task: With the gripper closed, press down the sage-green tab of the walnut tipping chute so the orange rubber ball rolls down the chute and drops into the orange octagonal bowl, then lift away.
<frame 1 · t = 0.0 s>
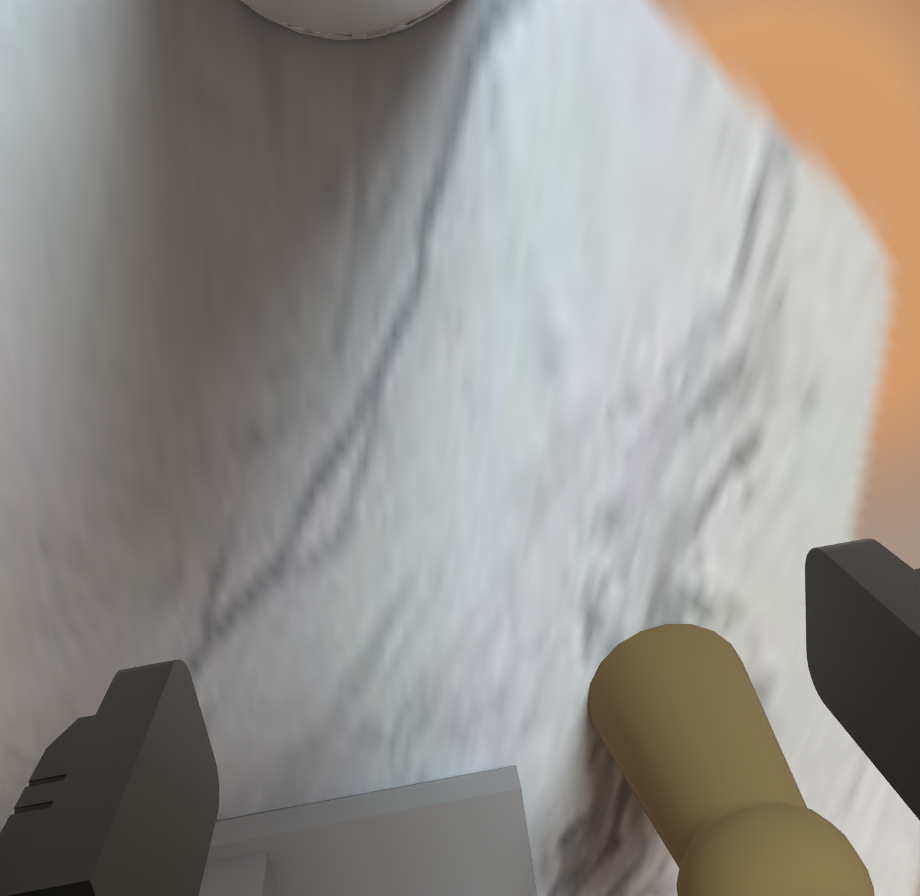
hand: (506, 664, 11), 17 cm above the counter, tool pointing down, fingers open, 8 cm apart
olive green pawn: (665, 690, 33), on the counter
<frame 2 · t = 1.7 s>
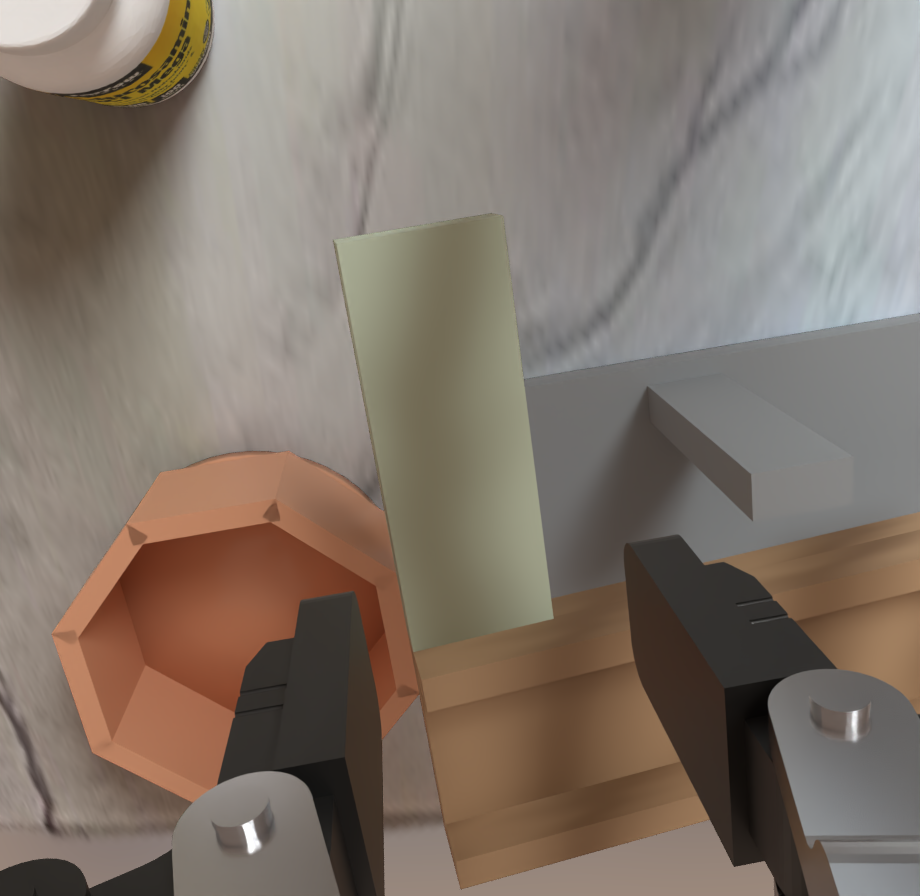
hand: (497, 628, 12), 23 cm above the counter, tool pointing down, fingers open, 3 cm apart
chute stand: (684, 512, 38), on the counter
orange octagonal bowl: (261, 586, 37), on the counter
pill bottle: (127, 12, 30), on the counter
chute: (798, 483, 26), point 11 cm above the counter, hinge at -6.1°, touching ball
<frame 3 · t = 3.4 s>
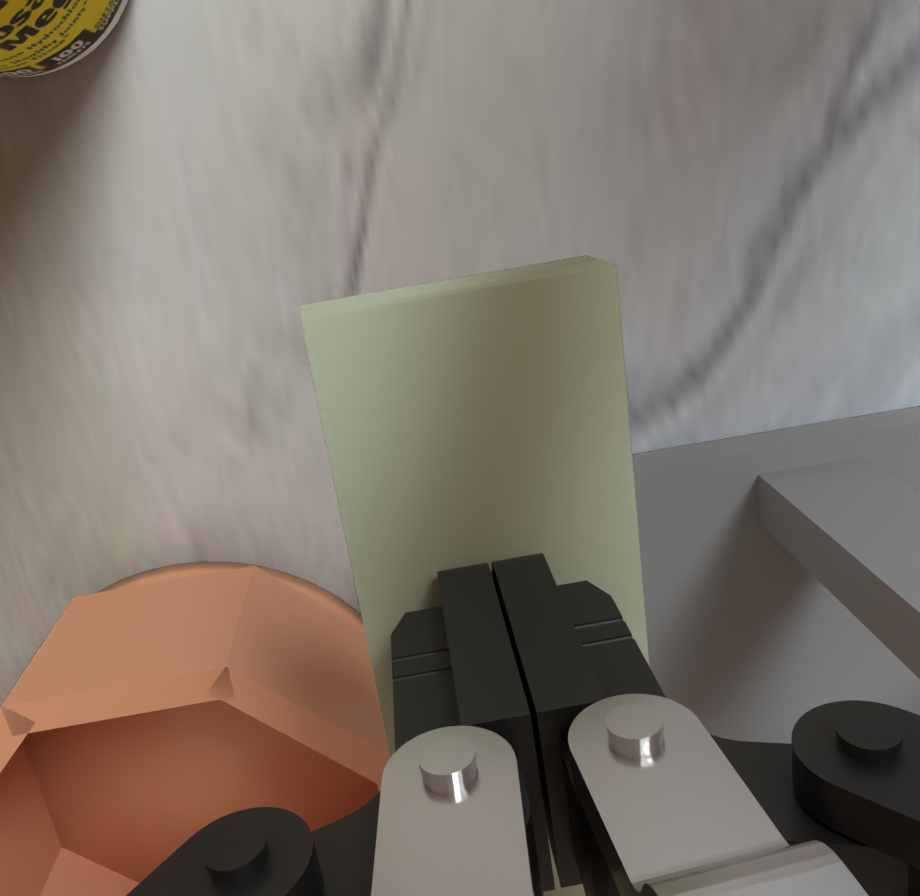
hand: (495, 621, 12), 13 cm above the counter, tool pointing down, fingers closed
chute stand: (794, 635, 28), on the counter
orange octagonal bowl: (221, 737, 27), on the counter
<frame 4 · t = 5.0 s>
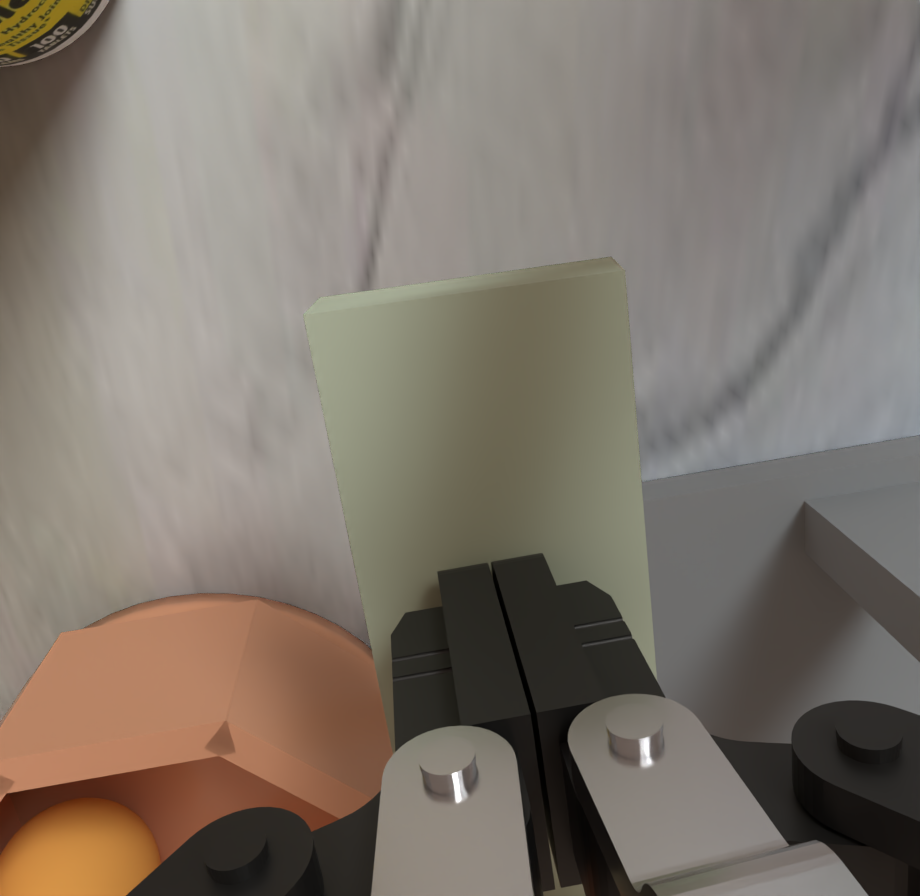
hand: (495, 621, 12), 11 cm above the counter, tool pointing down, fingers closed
chute stand: (837, 670, 26), on the counter
orange octagonal bowl: (221, 779, 25), on the counter
ball: (77, 882, 22), point 3 cm above the counter, tilted 148°, touching orange octagonal bowl
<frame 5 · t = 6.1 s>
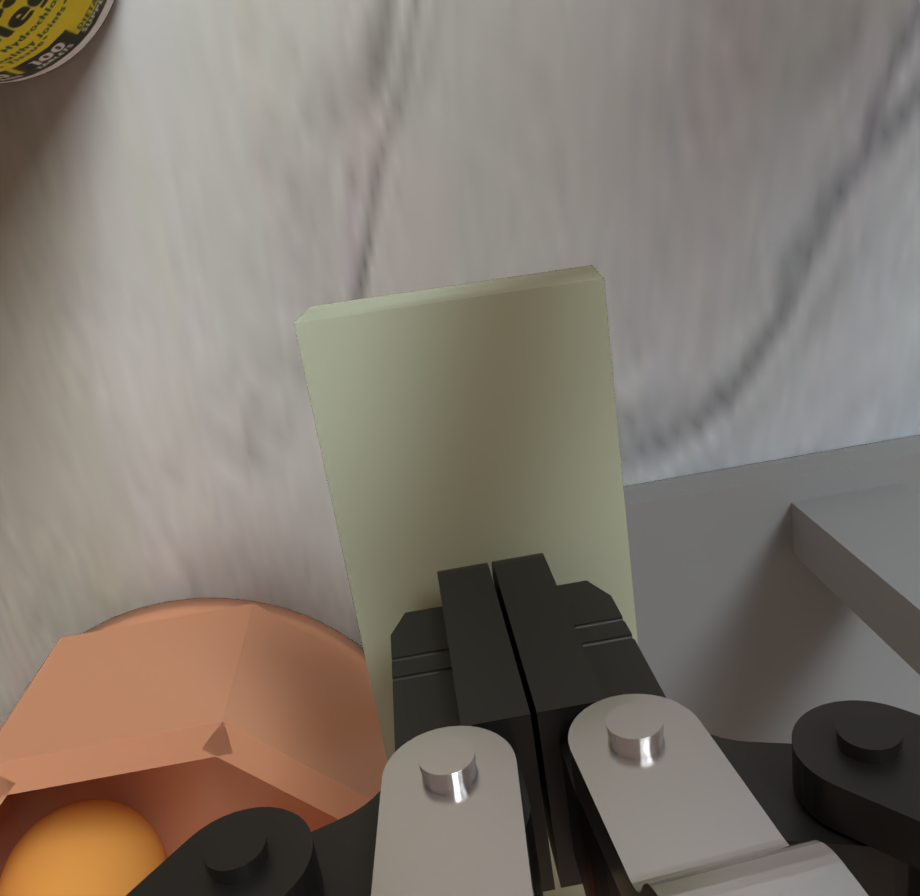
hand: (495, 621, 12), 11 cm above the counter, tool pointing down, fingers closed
chute stand: (827, 670, 26), on the counter
orange octagonal bowl: (219, 782, 26), on the counter
ball: (85, 883, 23), point 3 cm above the counter, tilted 143°, touching orange octagonal bowl
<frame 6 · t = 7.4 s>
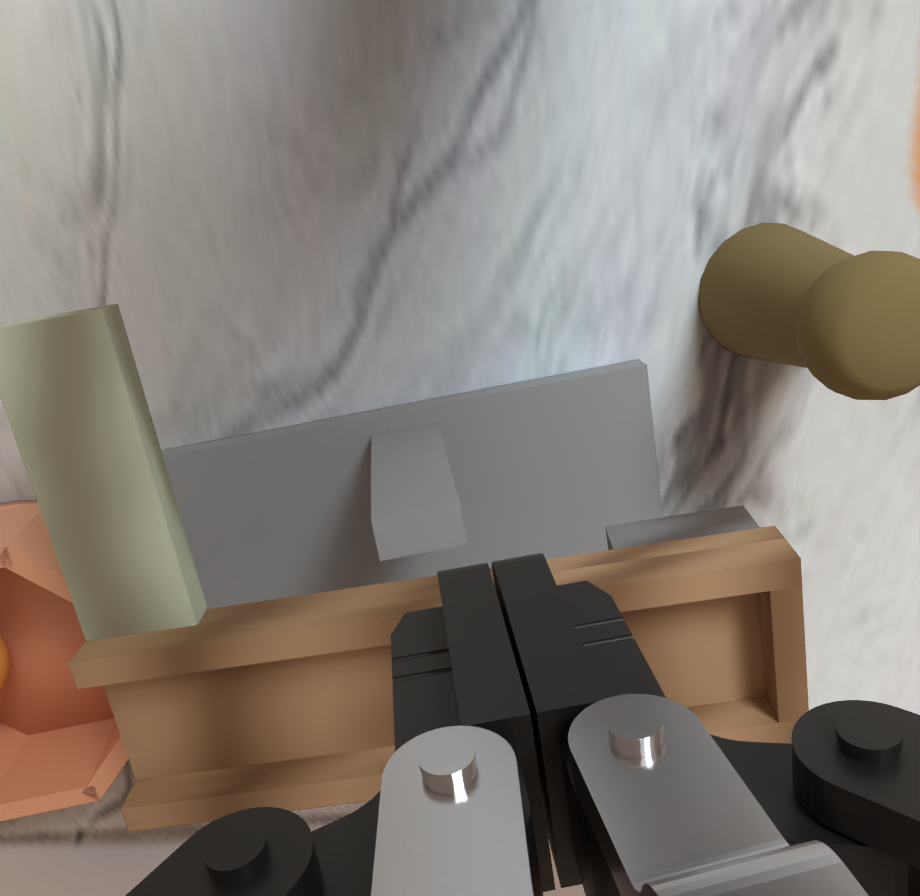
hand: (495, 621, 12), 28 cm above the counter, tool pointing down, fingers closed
chute stand: (428, 544, 42), on the counter
orange octagonal bowl: (46, 620, 41), on the counter
olive green pawn: (761, 291, 40), on the counter
chute: (416, 527, 30), point 11 cm above the counter, hinge at 6.5°
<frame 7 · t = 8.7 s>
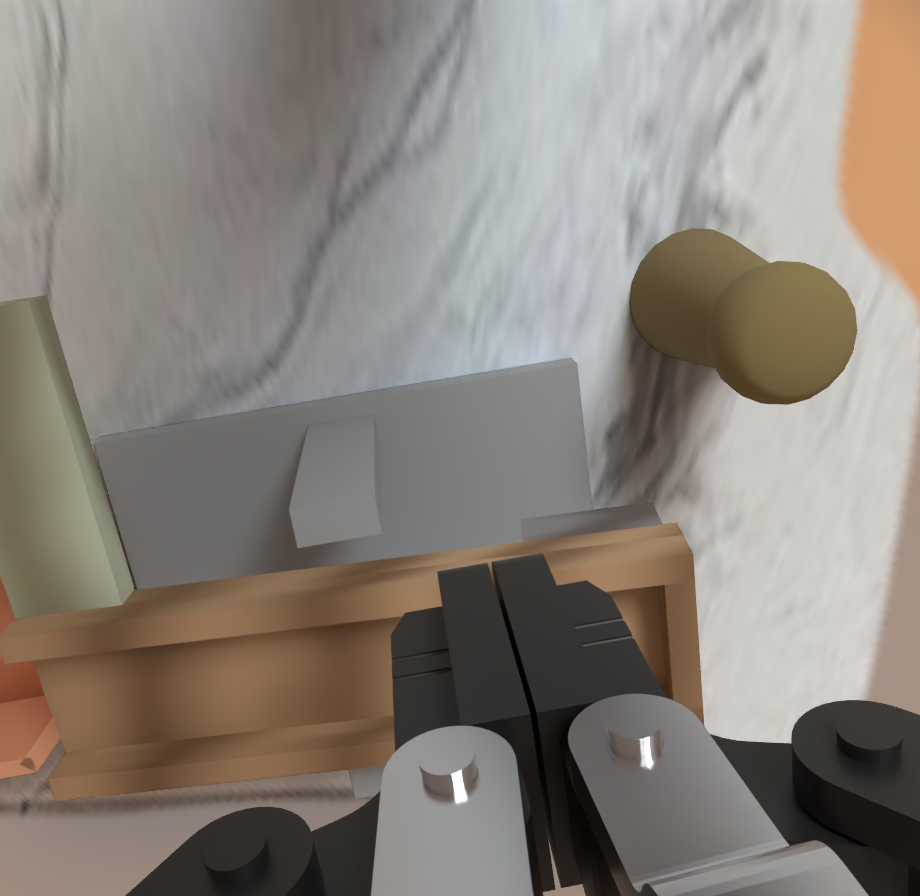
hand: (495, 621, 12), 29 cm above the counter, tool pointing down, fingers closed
chute stand: (366, 532, 43), on the counter
olive green pawn: (691, 294, 41), on the counter
chute: (334, 516, 31), point 11 cm above the counter, hinge at 6.5°
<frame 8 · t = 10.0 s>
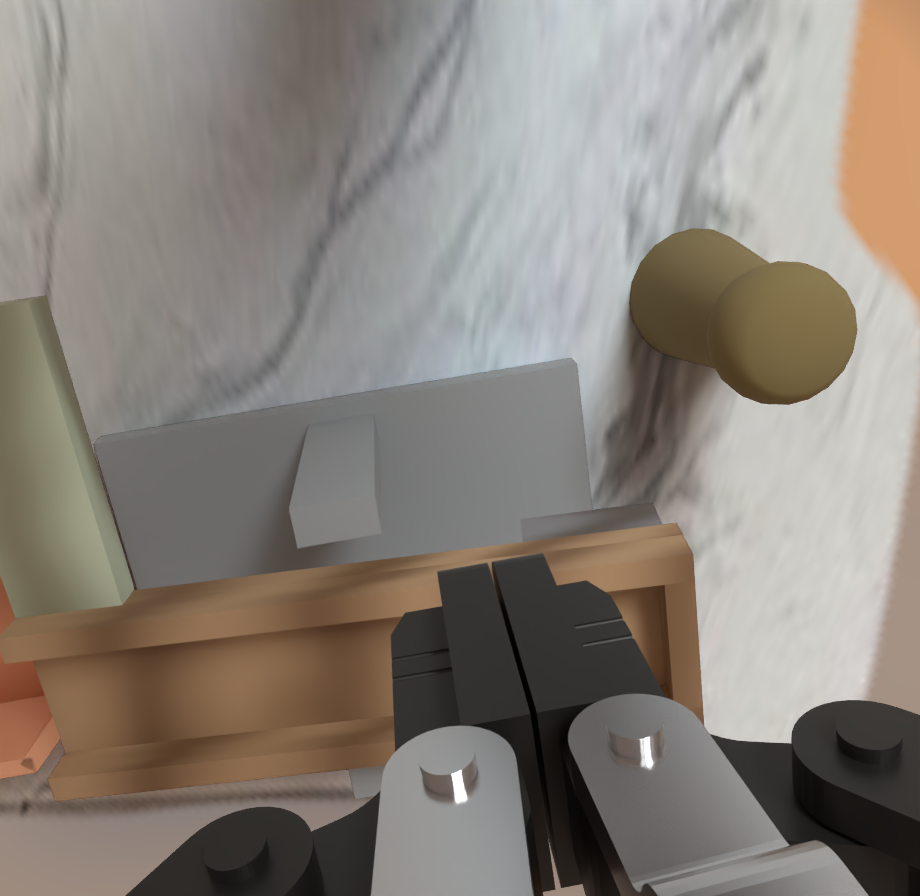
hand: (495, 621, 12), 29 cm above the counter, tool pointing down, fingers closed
chute stand: (366, 532, 43), on the counter
olive green pawn: (691, 294, 41), on the counter
chute: (334, 516, 31), point 11 cm above the counter, hinge at 6.5°
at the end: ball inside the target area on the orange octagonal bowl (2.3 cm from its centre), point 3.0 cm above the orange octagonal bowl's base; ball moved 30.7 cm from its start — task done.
